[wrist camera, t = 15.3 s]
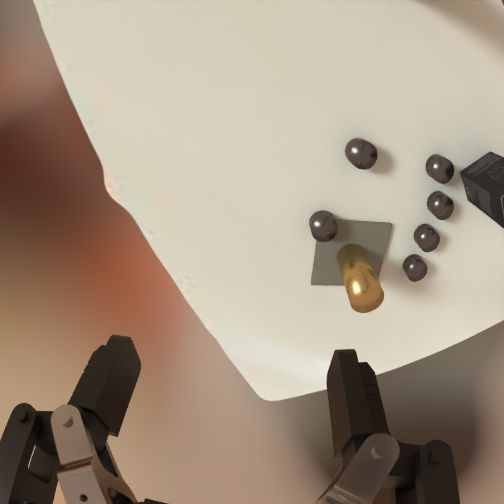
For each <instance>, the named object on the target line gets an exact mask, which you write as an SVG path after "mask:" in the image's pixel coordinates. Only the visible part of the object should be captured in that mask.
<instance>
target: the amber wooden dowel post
mask: <svg viewBox="0 0 504 504" xmlns="http://www.w3.org/2000/svg"><path fill="white" fill-rule="evenodd" d="M336 261H337V264H338V267H339V270H340V273H341V276H342V279H343V282H344V285H345V288H346V291H347V294H348V297H349V301H350V304H351V307H352V308H353V309H354V310H355V311H357V312H360V313H366V312H370V311H373V310H375V309H376V308H378V307H379V306H380V305H381V303H382V302H383V299H384V292H383V290H382V288H381V285H380V283H379V281H378V279H377V277H376V275H375V273H374V271H373V269H372V267H371V265H370V263H369V261H368V259H367V257H366V255H365V253H364V251H363V249H362V247H361V246H359V245H357V244H347V245H345V246H343V247H342V248H340V250H339V251H338V253H337V255H336Z"/></svg>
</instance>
